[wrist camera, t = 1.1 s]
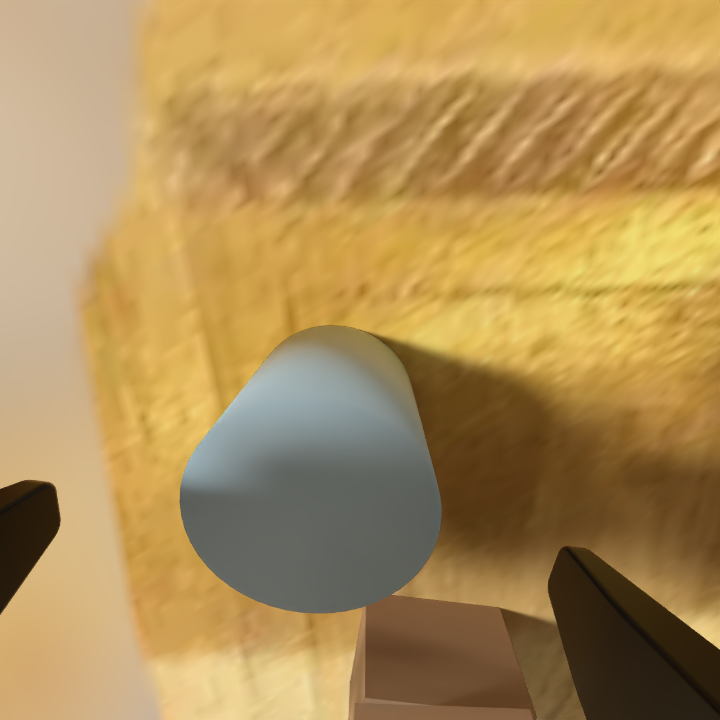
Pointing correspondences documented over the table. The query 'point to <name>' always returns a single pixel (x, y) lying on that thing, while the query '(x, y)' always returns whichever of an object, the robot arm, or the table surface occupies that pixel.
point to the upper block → (436, 712)
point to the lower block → (435, 656)
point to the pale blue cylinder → (316, 478)
